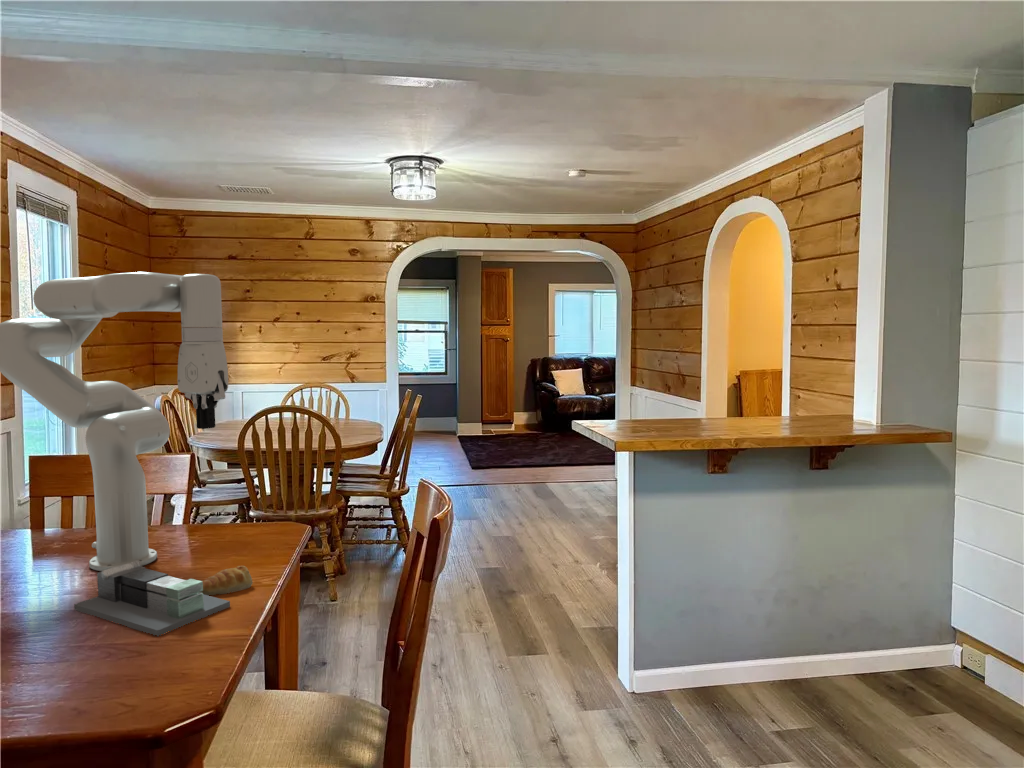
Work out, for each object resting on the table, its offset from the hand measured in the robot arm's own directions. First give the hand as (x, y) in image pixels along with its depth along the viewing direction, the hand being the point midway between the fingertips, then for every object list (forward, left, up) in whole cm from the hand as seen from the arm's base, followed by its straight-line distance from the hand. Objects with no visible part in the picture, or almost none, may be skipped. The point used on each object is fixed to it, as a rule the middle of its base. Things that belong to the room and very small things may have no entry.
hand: (206, 427), depth 146 cm
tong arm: (+11, -19, -25) cm, 33 cm away
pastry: (+12, -6, -30) cm, 32 cm away
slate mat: (+9, -19, -29) cm, 36 cm away
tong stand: (+8, -19, -28) cm, 35 cm away
